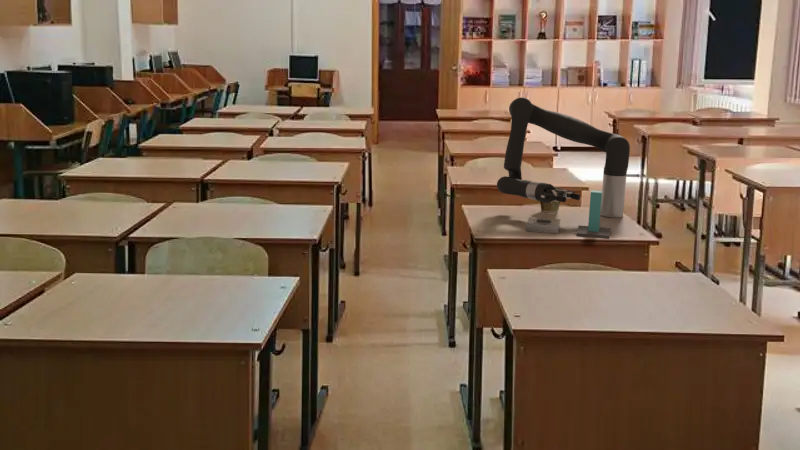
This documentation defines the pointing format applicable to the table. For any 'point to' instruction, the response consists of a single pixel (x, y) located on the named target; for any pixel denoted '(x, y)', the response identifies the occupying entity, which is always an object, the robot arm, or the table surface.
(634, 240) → the table surface
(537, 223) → the socket block
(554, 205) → the ceramic cup
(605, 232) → the rubber mat
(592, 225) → the teal peg
